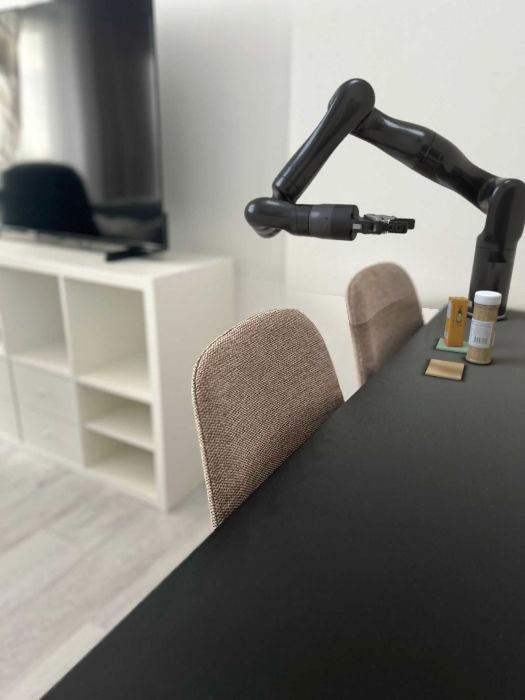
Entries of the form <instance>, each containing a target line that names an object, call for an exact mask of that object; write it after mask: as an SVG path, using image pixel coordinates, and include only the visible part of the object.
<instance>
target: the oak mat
mask: <svg viewBox="0 0 525 700" xmlns="http://www.w3.org/2000/svg"><path fill="white" fill-rule="evenodd" d="M464 368H465V363H462V362H455V361H449V360H441V359H435V358H431V359H430V362H429V364H428V365H427V369H426V371H425V372H424V373H425V376H430V377H437V378H443V379H450V380H454V381H455V380H456V381H461V380H462V377H463V374H464V373H463V372H464Z"/></svg>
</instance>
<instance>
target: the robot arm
mask: <svg viewBox="0 0 525 700" xmlns="http://www.w3.org/2000/svg"><path fill="white" fill-rule="evenodd" d="M375 105H376V92H375V89H374V88H373V86H372V84H371V83H370V82H368V81H367V80H366V79H364V78H361V77H360V78H359V77H354V78H353V77H352V78H349V79H348V80H345V81H343V83H341V84H340V85H339V86H338V87H337V88H336V90H335V91H334V92H333V94H332V95H331V97H330V98H329V101H328V103H327V107H326V112H325V114H324V115H323V117H322V119H321V120H320V121H319V123H318V125H316V127H315V129H314V130H313V131H312V133H310V135H309V136H308V137H307V139H305V141H304V142H303V143H302V144H301V145H300V147H298V149H297V150H296V151H295V152H294V153H293V155H292V156H291V157H290V158H289V160H288V161H287V162H286V164H285V165H284V166H283V167H282V168H281V169H280V171H279V172H278V174H277V175H276V176H275V178H273V181H272V183H271V190H272V196H271V197H270V196H259V197H256V198H253V199H252V200H250V201H249V202H248V203H247V204H246V206H245V207H244V211H243V213H244V214H243V215H244V219H245V222H246V223H247V224H248V226H249V227H251V229H252V230H253V231H254V232H255V233H256V234H257V236H259V237H261V238H262V239H272V238H274V237H276V236H277V235H279V234H280V233H281V232H282V231H284V232H286V233H288V234H289V235H291V236H293V237H300V238H301V237H303V238H314V239H320V240H329V241H344V242H353V241H355V240H356V239H357V236H358V234H362V235H373V236H375V235H376V236H380V235H387V234H401V235H405V234H407V233H408V232H409V231H412V230H415V227H416V219H415V218H405V217H397V216H396V215H387V214H375V213H366V214H364V213H363V216H360V209H359V206H358V205H357V204H351V203H349V204H348V203H297V202H298V200H299V199H300V198H301V197H302V195H304V193H305V192H306V190H307V189H308V188H309V187H310V185H311V184H312V183H313V181H314V180H315V178H316V177H317V176H318V174H320V171H321V170H322V169H323V167H324V166H325V164H326V163H327V161H328V160H329V159H330V157H331V156H332V155H333V153H334V152H335V151H336V149H337V148H338V147H339V146H340V144H342V142H344V140H345V139H346V138H347V137H348V135H350V136H353V137H355V138H357V139H358V140H361V141H364V142H366V143H368V144H370V145H372V146H374V147H375V148H377V149H379V150H380V151H382V152H383V153H385V154H386V155H387V156H390V157H391V158H393V159H394V160H396V161H397V162H399V163H401V164H402V165H404V166H405V167H407V168H408V169H410V170H412V171H414V173H416V174H418V175H420V176H421V177H423V178H425V179H427V180H430V181H431V182H433V183H435V184H436V185H439V186H442V187H443V188H446V189H448V190H450V191H452V192H455V193H456V194H457V195H459V196H461V197H462V198H463V199H465V200H466V201H467V202H469V203H470V204H471V205H473V206H474V207H475V208H476V209H478V210H479V211H480V212H481V213H483V214H484V215H486V217H485V223H484V227H483V229H482V231H481V232H479V234H478V235H477V236H476V240H475V246H474V253H473V260H472V267H471V274H470V281H469V287H468V288H469V289H468V294H467V299H468V300H469V302H468V309H467V316H466V317H470V318H472V317H473V312H474V303H475V302H474V298H475V293H476V292H478V291H492V292H497V293H500V294H501V295H502V297H501V304H500V306H499V308H498V315H497V321H502V320H504V319H506V311H507V306H508V300H509V294H510V289H511V282H512V277H513V272H514V268H515V267H514V266H515V261H516V255H517V249H518V244H519V241H520V240H521V238H522V237H523V233H524V230H525V181H524V180H521V179H519V178H516V177H501V176H498V175H496V174H494V173H491V172H490V171H487V170H485V169H483V168H482V167H479V166H478V165H476V164H475V163H474V162H472V161H471V160H470V159H469V158H468V157H467V156H466V155H465V153H463V151H462V150H461V149H460V148H459V147H458V146H456V144H454V143H453V142H452V141H451V140H450V139H447V137H444V136H443V135H442V134H439V133H438V132H436V131H435V130H433V129H431V128H429V127H426V126H424V125H421V124H417V123H415V122H411V121H406V120H403V119H400V118H399V119H398V118H395V117H392V116H391V115H388V114H386V113H384V112H383V111H381V110H380V109H378V108H377V107H376V106H375ZM408 230H409V231H408Z"/></svg>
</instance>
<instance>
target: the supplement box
mask: <svg viewBox="0 0 525 700" xmlns="http://www.w3.org/2000/svg"><path fill="white" fill-rule="evenodd" d="M468 302H469V300H468V298H467V297H465V296H448V301H447V310H446V317H445V326H444V335H443V338H444V343H445V344H446V345H447V346H459V347H462V346H463V341H464V338H465V330H466V322H467V317H468V316H467V309H468Z"/></svg>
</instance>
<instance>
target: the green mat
mask: <svg viewBox="0 0 525 700" xmlns="http://www.w3.org/2000/svg"><path fill="white" fill-rule="evenodd" d="M468 342H469V341H465V340H463V346H462V347H459V346H447V345H446V344H445V343H444V337H440V338H439V340H438V342H437V345H436V347H435V350H439V351H446V352H452V353H453V352H454V353H461V354H467V351H468V345H469V343H468Z"/></svg>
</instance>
